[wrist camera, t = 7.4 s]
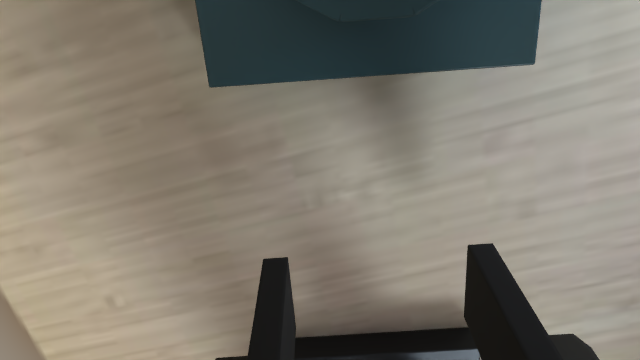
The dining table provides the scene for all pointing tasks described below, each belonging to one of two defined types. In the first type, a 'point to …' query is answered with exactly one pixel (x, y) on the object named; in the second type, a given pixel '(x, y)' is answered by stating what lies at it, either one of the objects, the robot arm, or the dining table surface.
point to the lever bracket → (390, 346)
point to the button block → (361, 37)
